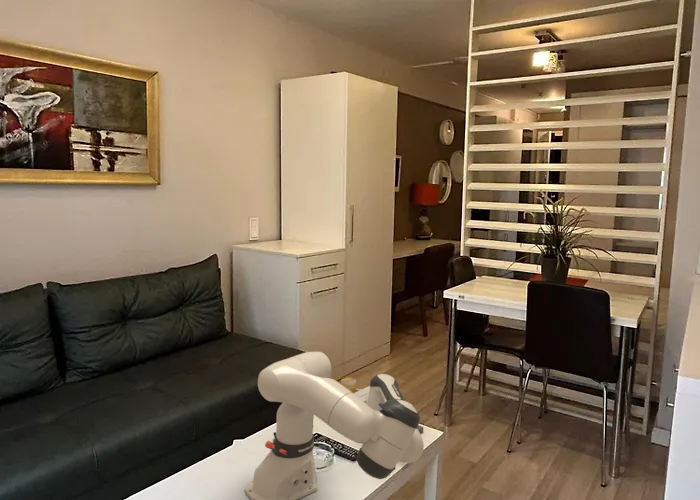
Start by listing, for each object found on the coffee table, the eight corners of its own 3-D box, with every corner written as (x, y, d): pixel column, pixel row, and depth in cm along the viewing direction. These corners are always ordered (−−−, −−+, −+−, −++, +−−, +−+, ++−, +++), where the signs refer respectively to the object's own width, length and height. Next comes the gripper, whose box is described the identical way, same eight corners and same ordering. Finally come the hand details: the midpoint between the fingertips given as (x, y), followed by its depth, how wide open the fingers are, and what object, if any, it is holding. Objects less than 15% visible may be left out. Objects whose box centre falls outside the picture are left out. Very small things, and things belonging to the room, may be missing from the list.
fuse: (348, 414, 200) (349, 382, 199) (340, 411, 203) (341, 379, 201) (355, 411, 204) (356, 379, 202) (347, 408, 206) (348, 376, 204)
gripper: (357, 419, 187) (329, 408, 195) (390, 402, 202) (362, 392, 211) (358, 403, 186) (329, 392, 194) (390, 387, 202) (362, 377, 210)
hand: (346, 392), depth 203 cm, fingers closed on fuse, 4 cm apart
